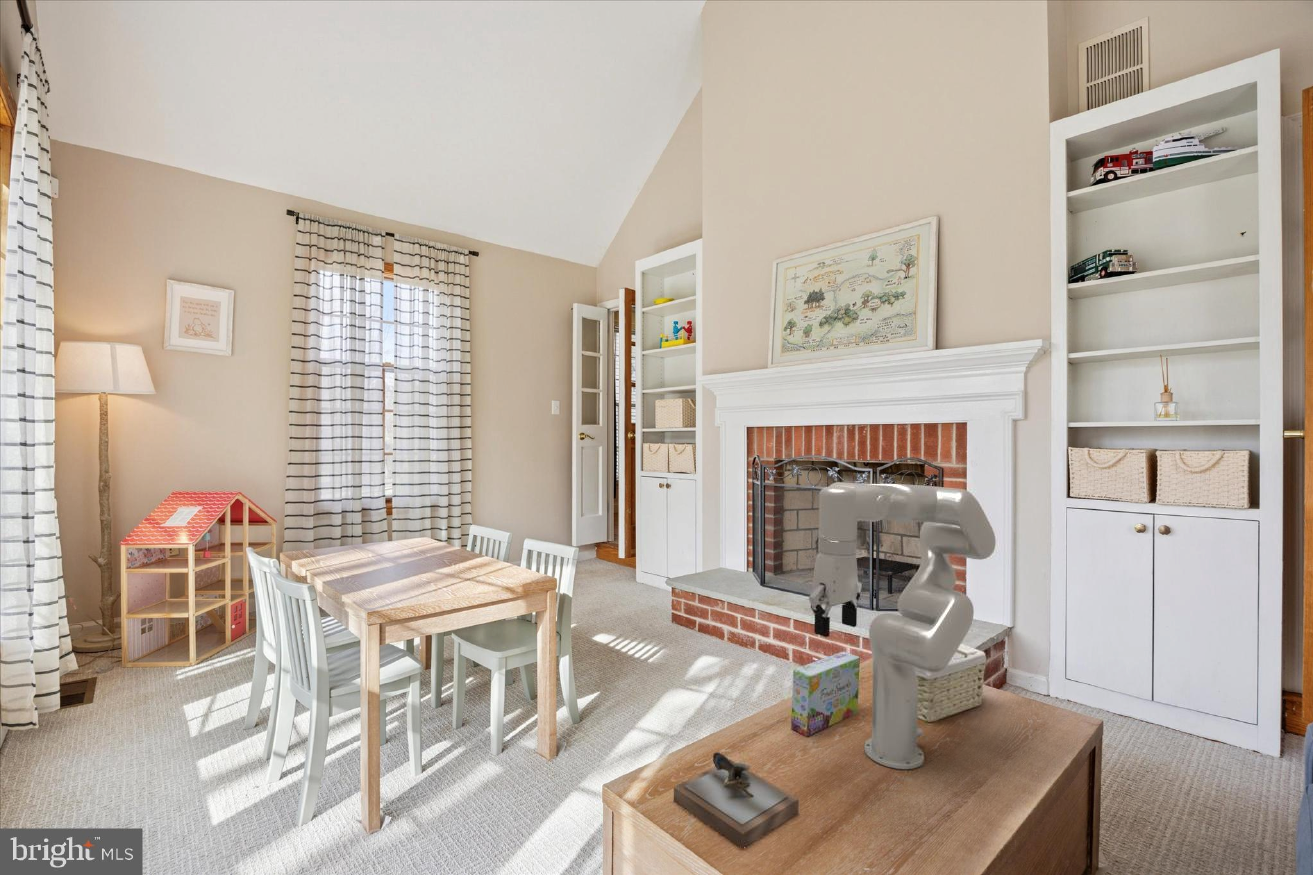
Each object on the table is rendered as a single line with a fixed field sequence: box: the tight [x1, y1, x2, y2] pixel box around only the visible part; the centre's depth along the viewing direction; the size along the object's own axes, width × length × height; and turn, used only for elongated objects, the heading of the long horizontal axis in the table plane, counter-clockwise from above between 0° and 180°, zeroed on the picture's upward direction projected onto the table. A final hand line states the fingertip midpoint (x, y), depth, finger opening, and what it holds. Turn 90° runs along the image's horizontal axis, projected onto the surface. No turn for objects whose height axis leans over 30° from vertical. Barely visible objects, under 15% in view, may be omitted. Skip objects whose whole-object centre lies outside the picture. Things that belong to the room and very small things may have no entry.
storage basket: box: [914, 643, 987, 723], centre depth 165 cm, size 24×16×15 cm
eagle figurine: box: [712, 752, 753, 797], centre depth 122 cm, size 8×7×9 cm
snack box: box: [790, 651, 861, 737], centre depth 155 cm, size 21×6×15 cm, turn 129°
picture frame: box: [673, 758, 800, 850], centre depth 120 cm, size 16×18×3 cm
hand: (835, 630), depth 127 cm, fingers open, 9 cm apart
